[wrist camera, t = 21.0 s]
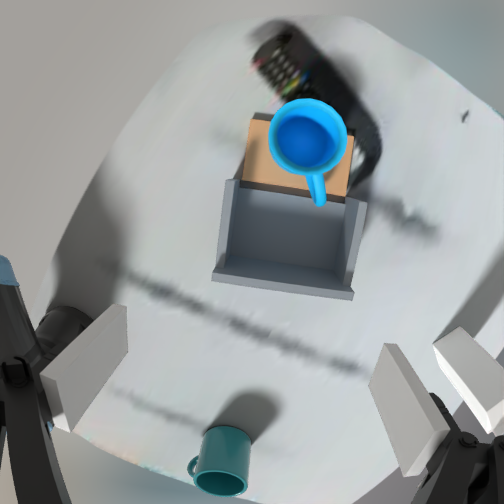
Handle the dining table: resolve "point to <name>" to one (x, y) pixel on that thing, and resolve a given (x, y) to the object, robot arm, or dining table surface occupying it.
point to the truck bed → (288, 242)
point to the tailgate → (267, 171)
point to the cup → (222, 462)
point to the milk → (474, 377)
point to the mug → (308, 142)
